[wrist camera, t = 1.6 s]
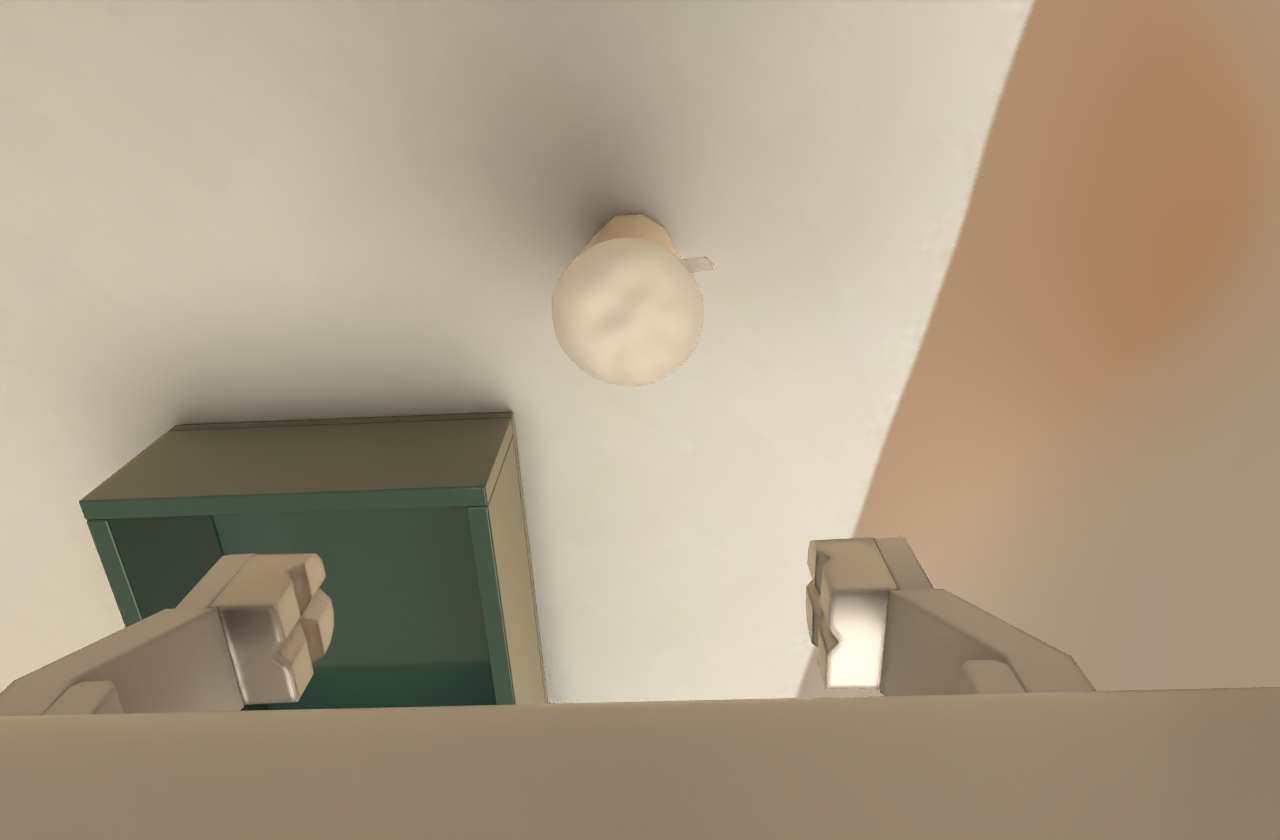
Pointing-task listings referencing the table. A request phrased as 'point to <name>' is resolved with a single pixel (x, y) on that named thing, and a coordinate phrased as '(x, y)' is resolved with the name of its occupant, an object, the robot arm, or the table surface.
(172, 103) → the table surface
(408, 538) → the open box
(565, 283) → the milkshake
